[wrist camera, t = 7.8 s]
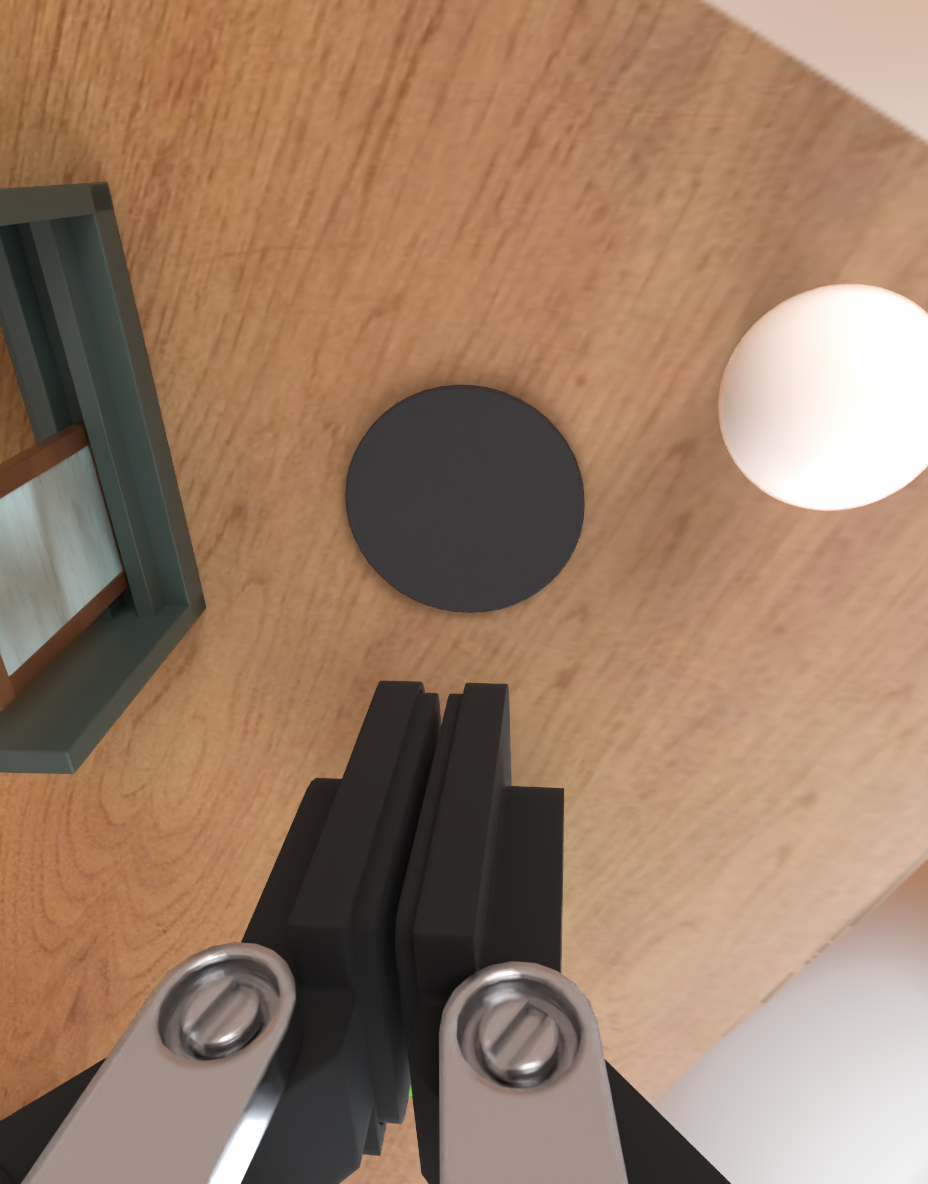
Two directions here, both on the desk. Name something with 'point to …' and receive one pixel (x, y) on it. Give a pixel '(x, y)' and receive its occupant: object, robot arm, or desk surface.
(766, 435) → the lightbulb
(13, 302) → the window frame
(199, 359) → the desk surface
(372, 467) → the coaster
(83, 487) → the window sash
